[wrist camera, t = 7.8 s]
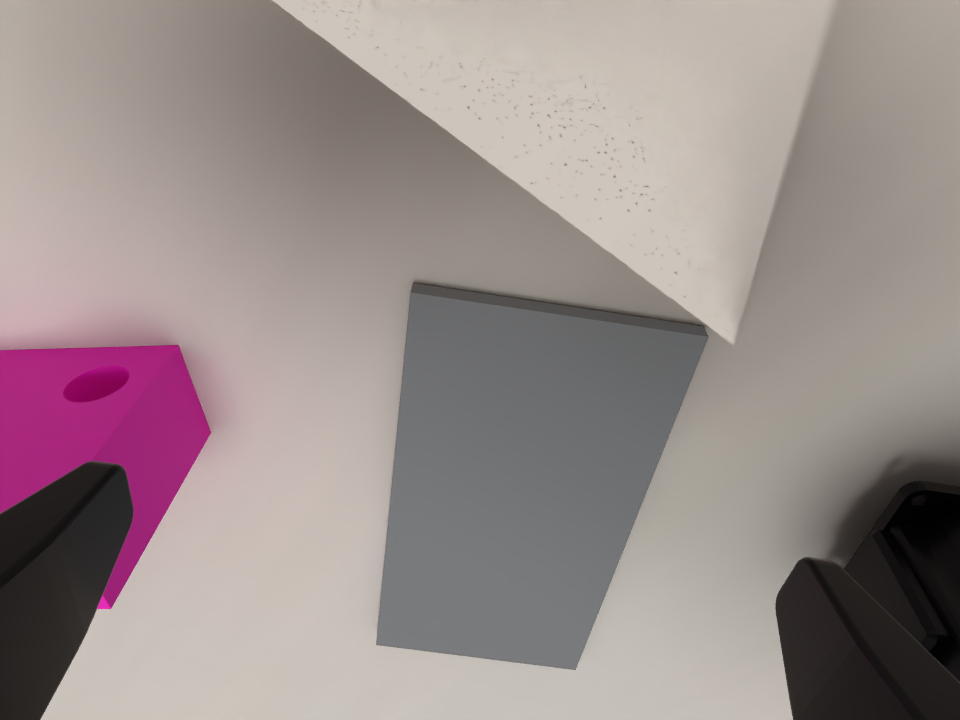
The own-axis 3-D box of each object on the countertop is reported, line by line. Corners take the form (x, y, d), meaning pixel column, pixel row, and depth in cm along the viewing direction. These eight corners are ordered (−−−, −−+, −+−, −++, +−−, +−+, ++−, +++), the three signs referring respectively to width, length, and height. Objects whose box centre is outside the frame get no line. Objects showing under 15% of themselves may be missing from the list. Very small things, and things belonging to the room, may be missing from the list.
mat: (703, 326, 21) (708, 336, 20) (574, 657, 31) (575, 670, 31) (413, 283, 21) (410, 292, 20) (378, 632, 31) (376, 644, 30)
